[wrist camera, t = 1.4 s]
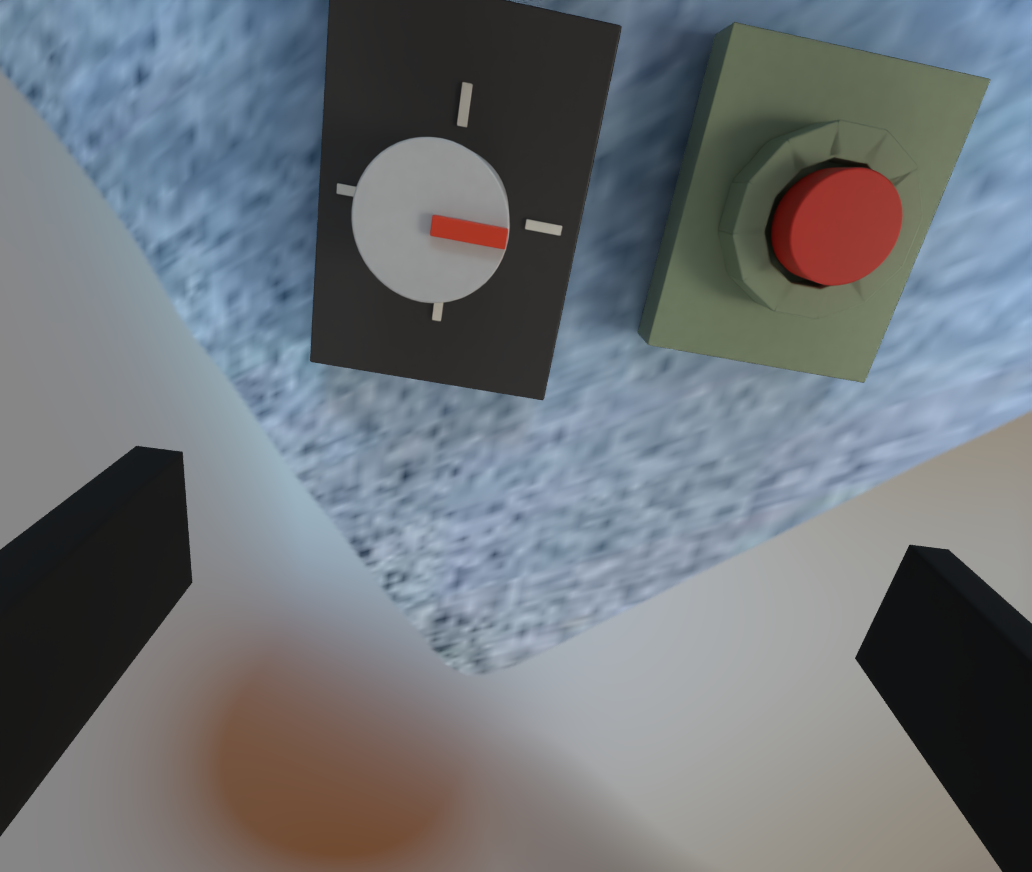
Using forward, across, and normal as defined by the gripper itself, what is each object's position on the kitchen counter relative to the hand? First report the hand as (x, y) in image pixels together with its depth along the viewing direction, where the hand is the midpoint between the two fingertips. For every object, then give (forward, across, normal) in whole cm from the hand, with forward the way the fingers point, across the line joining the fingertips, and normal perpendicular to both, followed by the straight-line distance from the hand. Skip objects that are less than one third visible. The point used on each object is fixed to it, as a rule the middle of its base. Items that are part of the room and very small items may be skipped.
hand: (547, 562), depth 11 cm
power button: (+15, +10, +6) cm, 20 cm away
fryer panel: (+19, -4, +4) cm, 20 cm away
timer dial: (+16, -4, +5) cm, 17 cm away
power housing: (+19, +10, +6) cm, 22 cm away
